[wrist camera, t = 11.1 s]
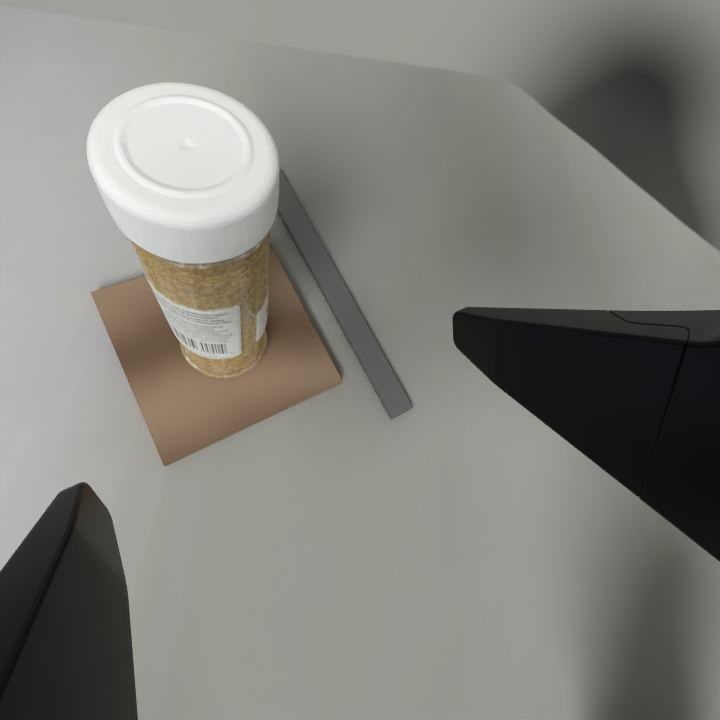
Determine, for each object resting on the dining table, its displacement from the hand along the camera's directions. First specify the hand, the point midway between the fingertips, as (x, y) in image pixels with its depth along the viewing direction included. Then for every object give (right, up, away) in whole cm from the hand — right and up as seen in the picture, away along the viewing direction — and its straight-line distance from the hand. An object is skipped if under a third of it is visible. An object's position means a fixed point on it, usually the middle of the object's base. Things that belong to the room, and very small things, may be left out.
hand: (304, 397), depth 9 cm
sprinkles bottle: (-6, +2, +13) cm, 15 cm away
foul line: (0, +5, +16) cm, 17 cm away
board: (-6, +2, +13) cm, 15 cm away
